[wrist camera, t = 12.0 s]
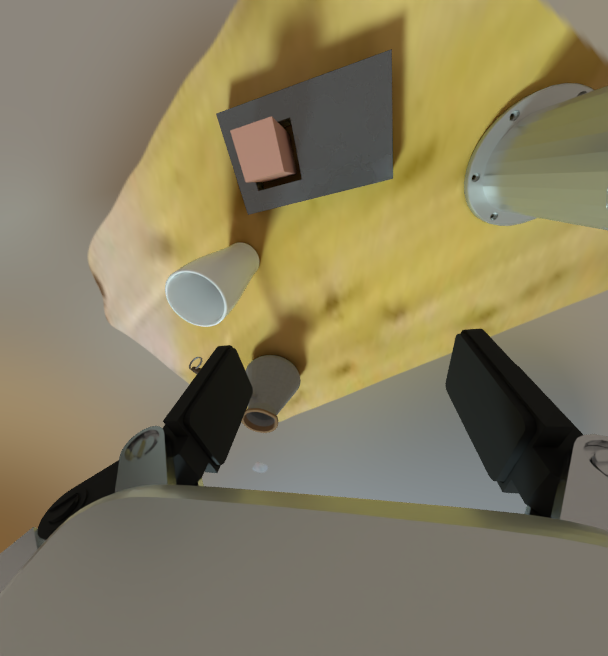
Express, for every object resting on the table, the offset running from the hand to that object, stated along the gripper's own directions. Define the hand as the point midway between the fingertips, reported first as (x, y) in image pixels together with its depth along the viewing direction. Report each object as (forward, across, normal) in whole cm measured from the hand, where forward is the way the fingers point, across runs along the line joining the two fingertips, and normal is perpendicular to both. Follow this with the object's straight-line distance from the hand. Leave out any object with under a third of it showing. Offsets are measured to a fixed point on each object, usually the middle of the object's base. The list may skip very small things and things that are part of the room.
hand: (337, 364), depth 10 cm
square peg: (+27, +7, -10) cm, 30 cm away
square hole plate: (+27, +3, -10) cm, 29 cm away
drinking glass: (+27, +15, +1) cm, 31 cm away
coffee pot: (+27, +18, +20) cm, 38 cm away
